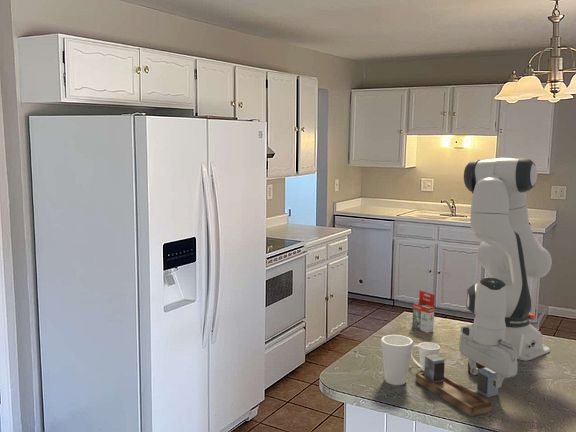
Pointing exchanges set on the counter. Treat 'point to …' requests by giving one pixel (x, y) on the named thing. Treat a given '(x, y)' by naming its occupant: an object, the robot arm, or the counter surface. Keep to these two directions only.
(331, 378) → the counter surface
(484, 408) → the rail
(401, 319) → the counter surface
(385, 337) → the foam cup
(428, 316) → the ink box
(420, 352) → the cup
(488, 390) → the pale grey rounded cube
